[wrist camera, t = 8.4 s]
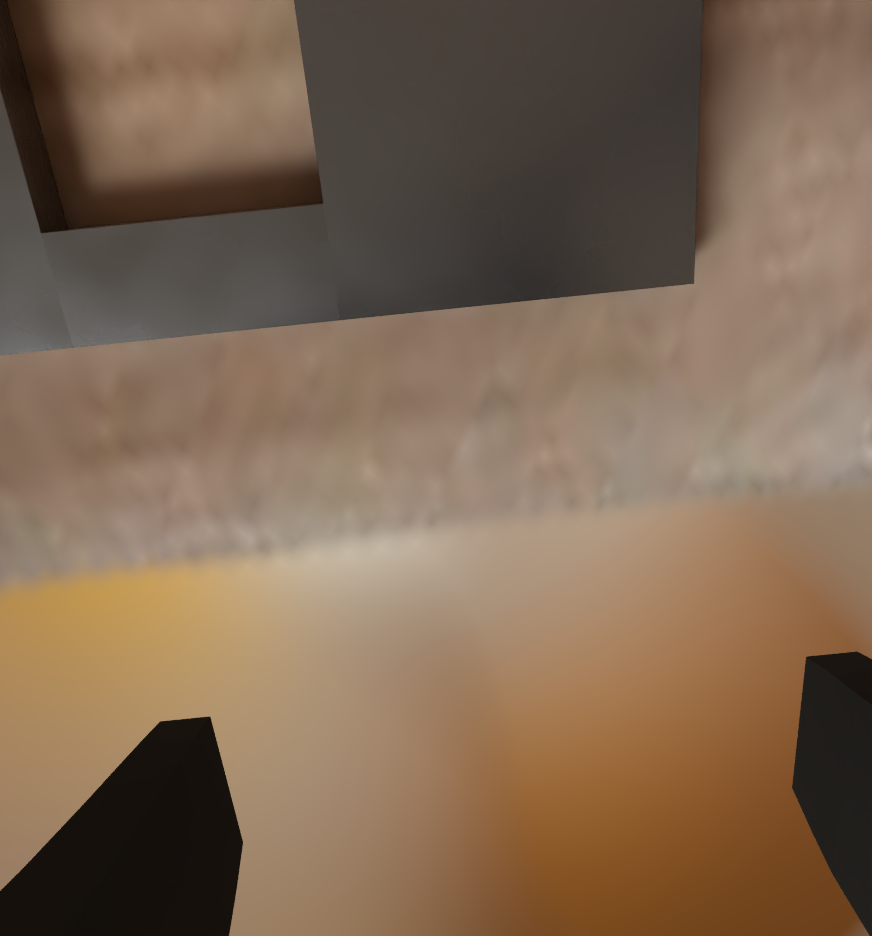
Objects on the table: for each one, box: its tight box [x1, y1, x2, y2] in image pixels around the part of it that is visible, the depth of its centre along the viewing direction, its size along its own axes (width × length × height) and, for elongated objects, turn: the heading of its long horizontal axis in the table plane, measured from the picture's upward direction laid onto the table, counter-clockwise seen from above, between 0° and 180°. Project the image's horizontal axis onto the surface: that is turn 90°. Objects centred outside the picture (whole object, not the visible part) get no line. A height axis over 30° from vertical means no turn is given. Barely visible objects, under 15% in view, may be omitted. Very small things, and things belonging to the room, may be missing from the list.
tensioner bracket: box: [0, 0, 703, 355], centre depth 14 cm, size 20×10×1 cm, turn 95°
